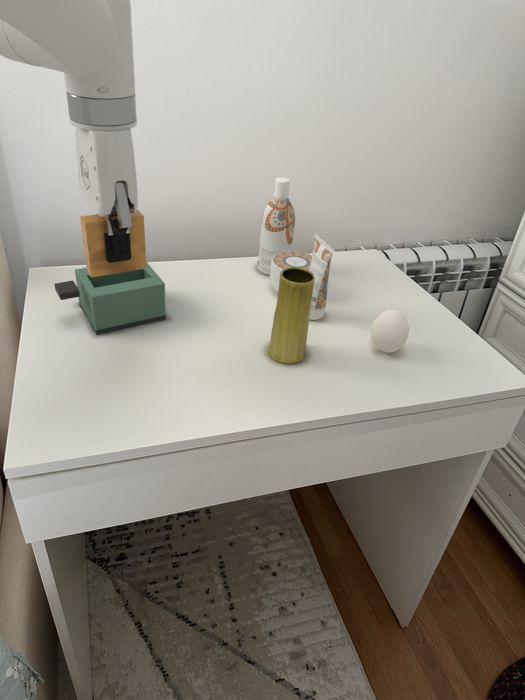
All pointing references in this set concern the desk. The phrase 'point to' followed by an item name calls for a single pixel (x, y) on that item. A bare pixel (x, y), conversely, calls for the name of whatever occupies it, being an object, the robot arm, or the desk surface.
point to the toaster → (121, 298)
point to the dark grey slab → (67, 290)
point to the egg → (389, 331)
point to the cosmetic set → (279, 244)
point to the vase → (292, 315)
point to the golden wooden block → (95, 245)
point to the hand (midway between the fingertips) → (115, 254)
